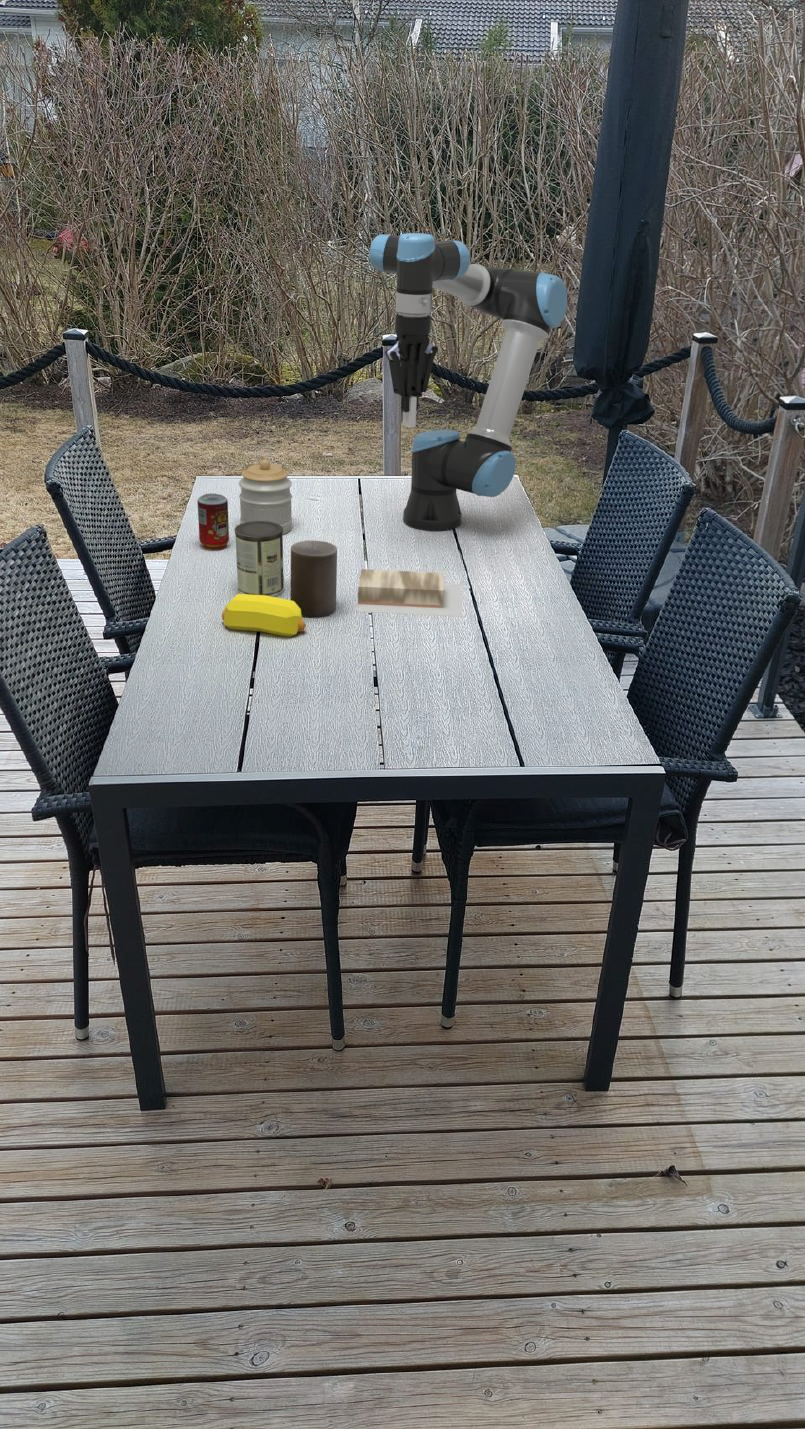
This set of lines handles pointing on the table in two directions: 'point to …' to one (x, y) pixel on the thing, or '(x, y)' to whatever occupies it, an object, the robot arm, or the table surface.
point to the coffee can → (259, 558)
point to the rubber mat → (449, 607)
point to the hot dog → (263, 615)
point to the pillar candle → (314, 577)
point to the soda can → (213, 521)
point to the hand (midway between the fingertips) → (409, 426)
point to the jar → (266, 495)
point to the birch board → (400, 588)
